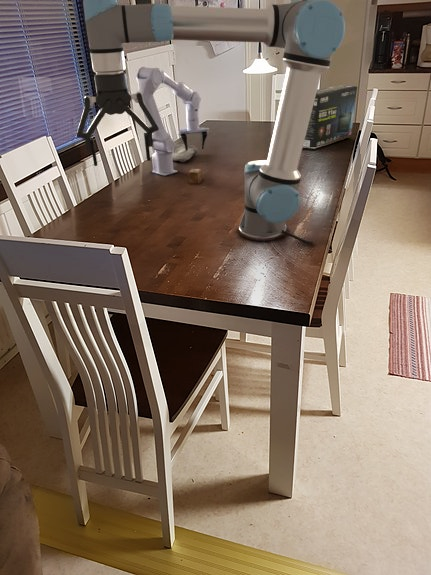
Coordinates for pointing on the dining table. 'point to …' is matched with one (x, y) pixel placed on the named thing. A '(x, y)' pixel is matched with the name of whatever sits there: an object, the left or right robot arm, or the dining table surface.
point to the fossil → (183, 152)
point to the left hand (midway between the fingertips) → (194, 149)
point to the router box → (331, 115)
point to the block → (195, 176)
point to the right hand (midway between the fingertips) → (122, 162)
